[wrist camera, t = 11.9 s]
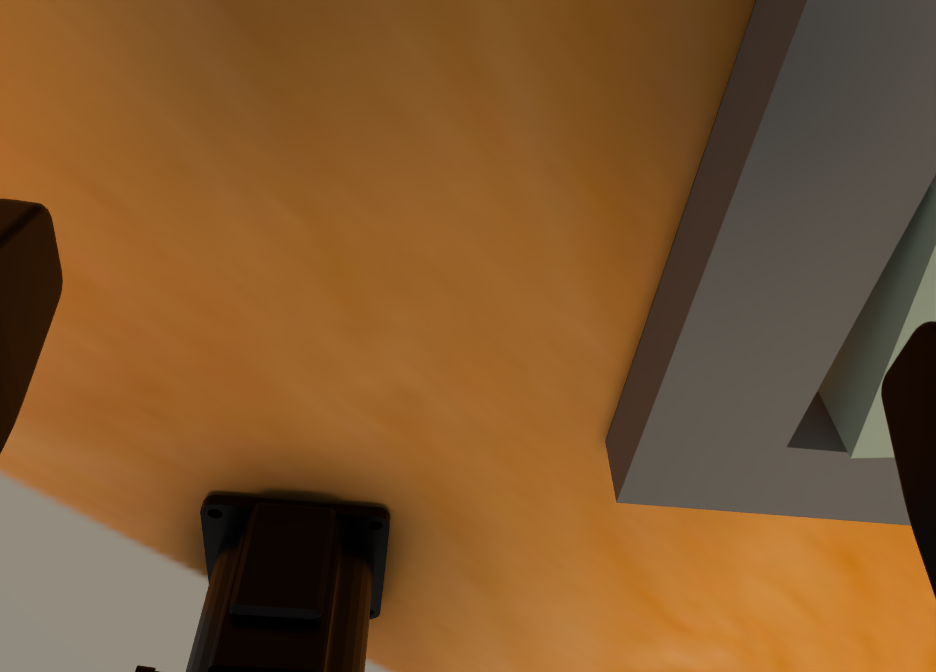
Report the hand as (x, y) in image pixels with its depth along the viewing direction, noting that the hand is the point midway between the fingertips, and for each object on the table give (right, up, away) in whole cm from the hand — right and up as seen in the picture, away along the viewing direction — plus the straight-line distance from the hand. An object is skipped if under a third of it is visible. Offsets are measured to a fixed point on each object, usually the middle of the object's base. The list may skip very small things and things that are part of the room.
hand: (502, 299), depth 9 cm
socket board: (+12, +1, +14) cm, 19 cm away
